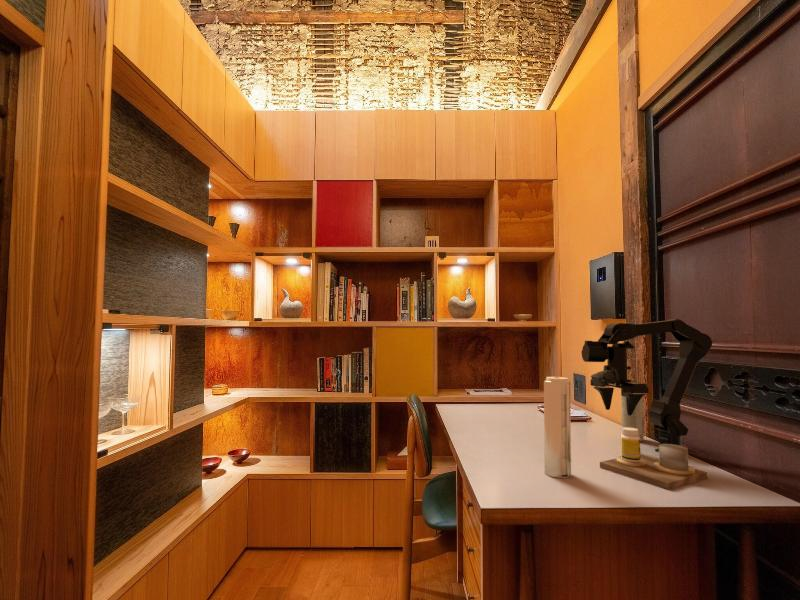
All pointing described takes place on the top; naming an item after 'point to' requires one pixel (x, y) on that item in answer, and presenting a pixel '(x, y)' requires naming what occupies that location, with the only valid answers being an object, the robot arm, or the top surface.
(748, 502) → the top surface
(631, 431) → the supplement bottle
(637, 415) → the spray can
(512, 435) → the top surface
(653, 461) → the board
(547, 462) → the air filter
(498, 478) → the top surface
